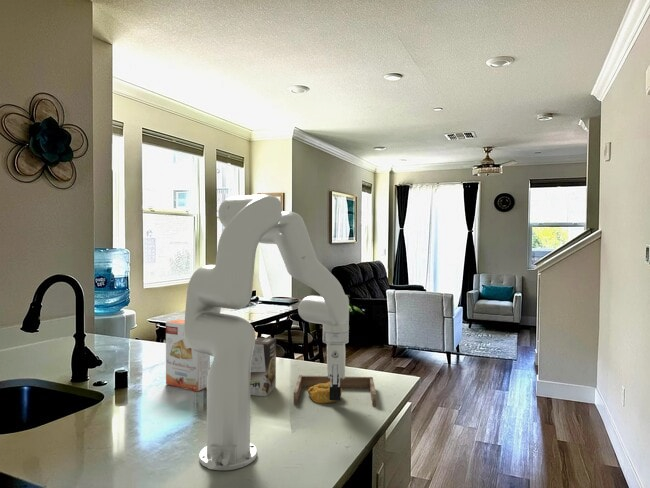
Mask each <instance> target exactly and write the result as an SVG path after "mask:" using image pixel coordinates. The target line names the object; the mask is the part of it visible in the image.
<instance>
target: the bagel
mask: <svg viewBox="0 0 650 488" xmlns="http://www.w3.org/2000/svg"><path fill="white" fill-rule="evenodd" d="M307 392H308V395H309V397H310V399H311V400H312V402H314V403H318V404H330V403H334V402H337V400H330V382H328V383H320V384H317V385H314V386H312V387H308V389H307ZM342 393H343V388H341V395H343V394H342Z"/></svg>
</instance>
